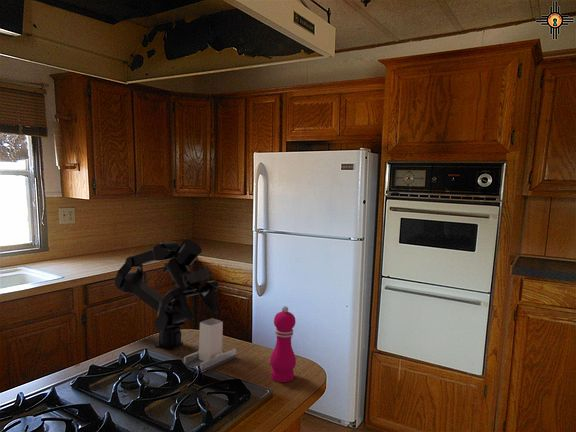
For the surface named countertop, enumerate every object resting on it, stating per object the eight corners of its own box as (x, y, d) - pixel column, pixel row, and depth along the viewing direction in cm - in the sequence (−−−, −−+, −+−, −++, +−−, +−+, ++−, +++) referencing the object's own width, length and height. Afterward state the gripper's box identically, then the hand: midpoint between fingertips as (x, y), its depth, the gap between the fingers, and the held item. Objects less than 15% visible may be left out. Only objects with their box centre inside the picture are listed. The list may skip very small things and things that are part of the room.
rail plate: (183, 365, 114) (183, 355, 114) (217, 350, 125) (218, 341, 125) (202, 373, 109) (202, 362, 109) (236, 357, 121) (236, 347, 121)
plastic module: (198, 359, 117) (199, 321, 116) (211, 353, 121) (212, 317, 120) (209, 363, 114) (210, 325, 114) (221, 357, 118) (222, 320, 118)
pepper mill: (298, 381, 107) (302, 309, 106) (273, 384, 104) (276, 310, 103) (290, 370, 113) (293, 302, 112) (266, 372, 111) (269, 303, 110)
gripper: (169, 262, 113) (194, 307, 107) (216, 255, 128) (240, 295, 123) (151, 285, 118) (175, 329, 112) (198, 276, 133) (221, 314, 128)
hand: (204, 316), depth 119 cm, fingers open, 9 cm apart
